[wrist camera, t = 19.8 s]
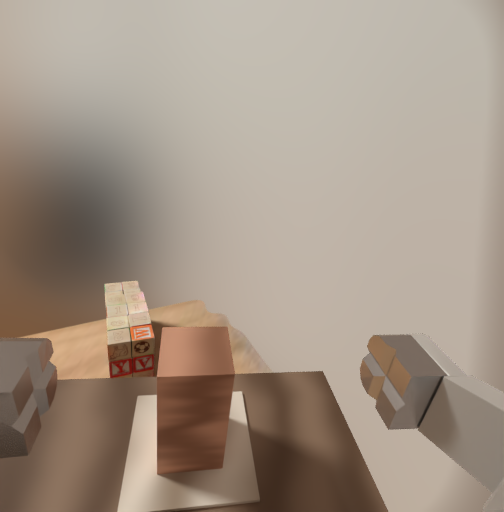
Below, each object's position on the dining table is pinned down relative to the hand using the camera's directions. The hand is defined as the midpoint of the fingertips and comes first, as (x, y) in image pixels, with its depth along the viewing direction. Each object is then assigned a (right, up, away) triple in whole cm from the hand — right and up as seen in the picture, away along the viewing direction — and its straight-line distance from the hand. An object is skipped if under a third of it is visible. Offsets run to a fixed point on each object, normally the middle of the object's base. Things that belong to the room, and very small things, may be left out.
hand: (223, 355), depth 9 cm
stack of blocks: (-22, -16, +51) cm, 58 cm away
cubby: (-6, -29, +26) cm, 40 cm away
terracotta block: (-4, -13, +19) cm, 24 cm away
